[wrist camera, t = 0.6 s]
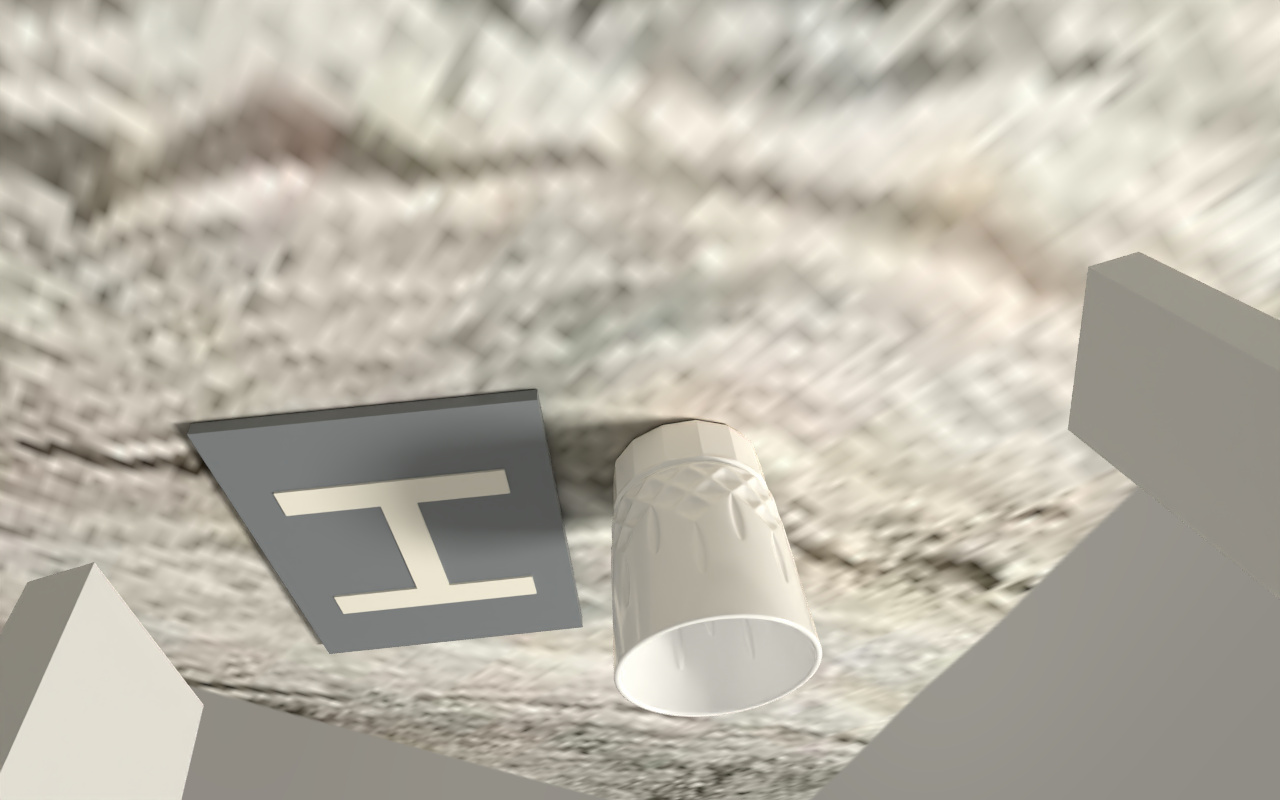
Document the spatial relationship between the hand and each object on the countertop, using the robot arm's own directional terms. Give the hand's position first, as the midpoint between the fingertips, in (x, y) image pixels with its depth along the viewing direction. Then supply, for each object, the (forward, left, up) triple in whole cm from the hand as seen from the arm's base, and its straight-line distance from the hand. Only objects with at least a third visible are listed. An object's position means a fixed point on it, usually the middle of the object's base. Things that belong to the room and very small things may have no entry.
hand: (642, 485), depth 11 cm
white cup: (+21, +2, -18) cm, 28 cm away
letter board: (+24, -11, -18) cm, 32 cm away
